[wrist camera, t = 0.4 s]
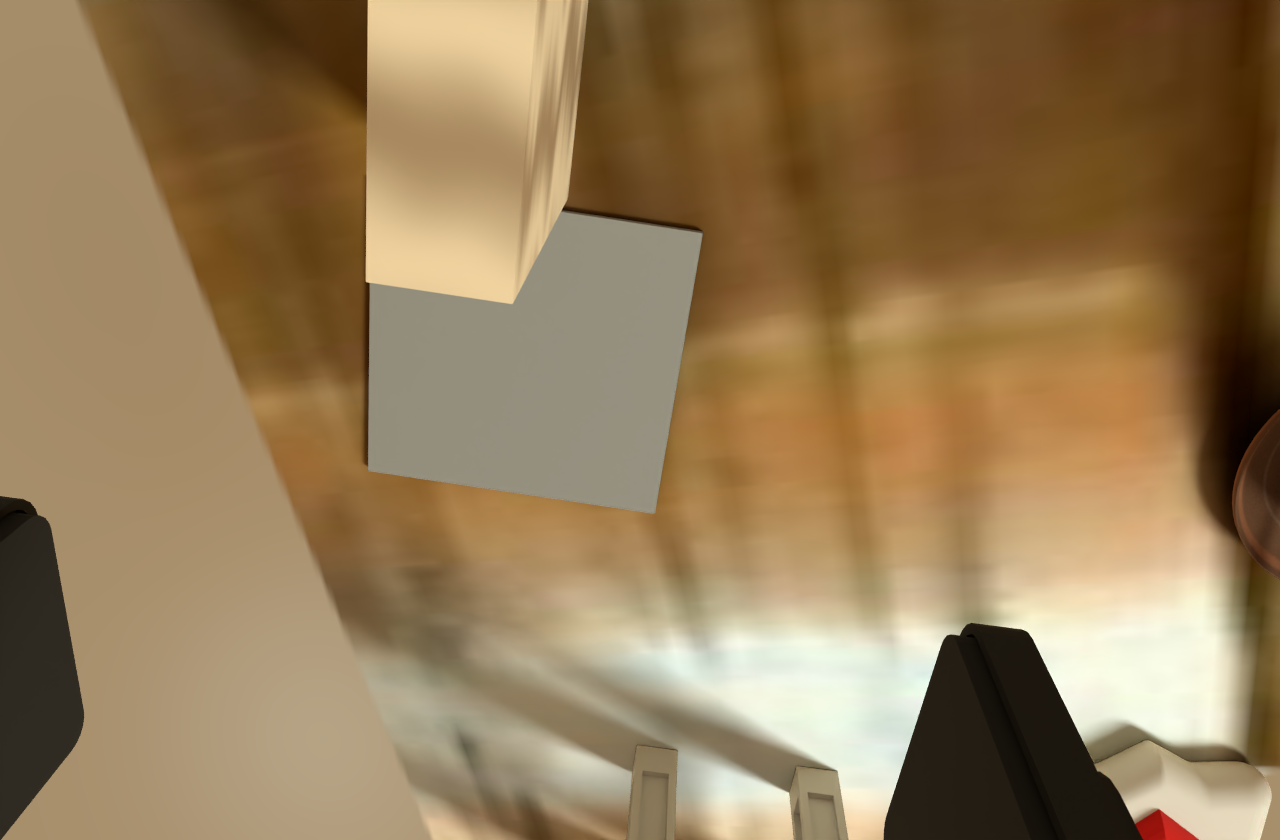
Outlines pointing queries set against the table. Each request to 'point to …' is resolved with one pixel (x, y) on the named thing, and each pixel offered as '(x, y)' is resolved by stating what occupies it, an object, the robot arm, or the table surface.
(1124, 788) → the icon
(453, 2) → the slab
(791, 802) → the stool
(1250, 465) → the cup and saucer
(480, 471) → the mat
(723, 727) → the table surface
